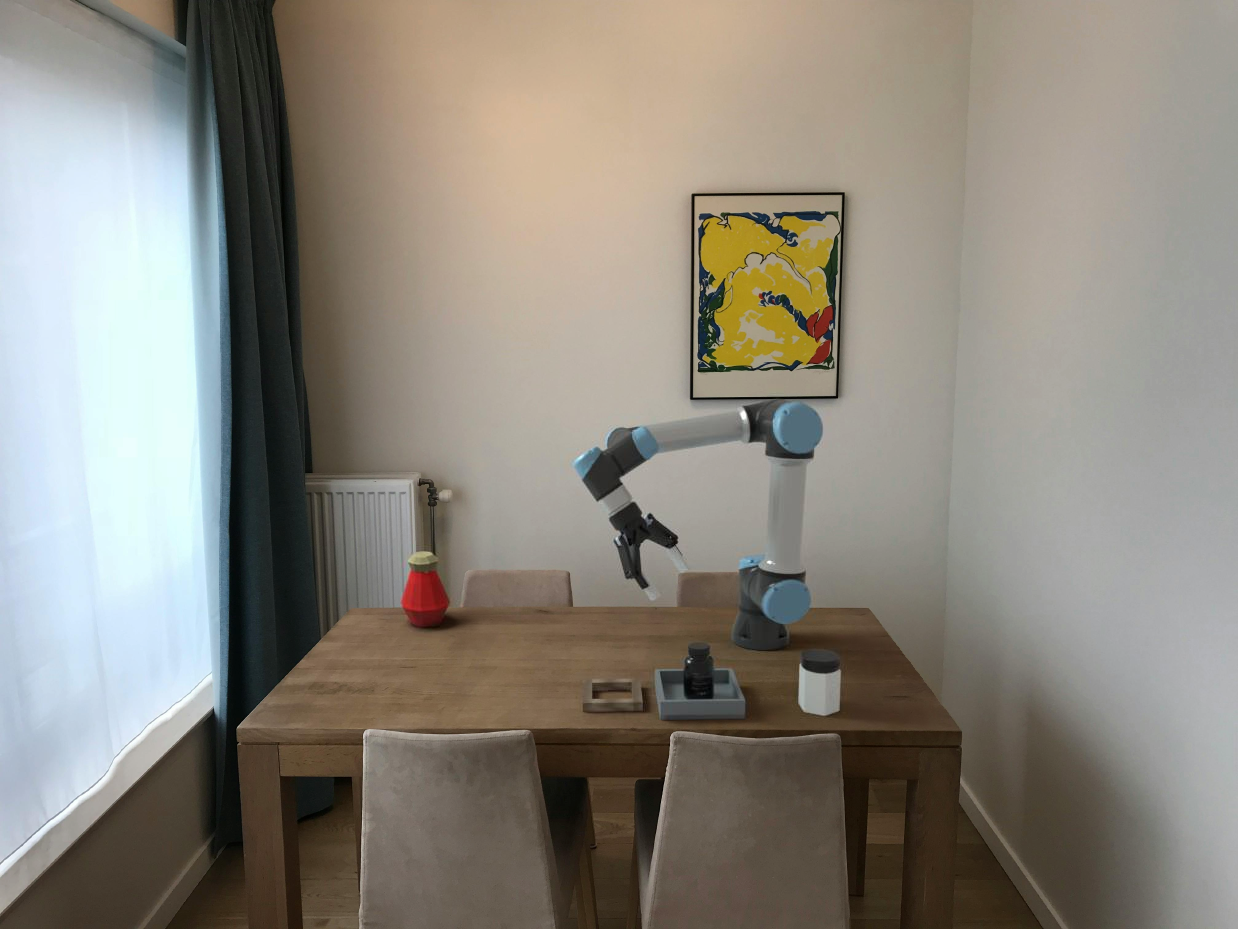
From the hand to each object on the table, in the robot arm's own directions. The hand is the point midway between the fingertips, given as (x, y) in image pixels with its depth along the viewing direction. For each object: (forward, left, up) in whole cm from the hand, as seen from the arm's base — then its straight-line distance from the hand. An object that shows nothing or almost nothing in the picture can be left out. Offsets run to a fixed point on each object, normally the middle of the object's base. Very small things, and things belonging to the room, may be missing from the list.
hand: (671, 584), depth 201 cm
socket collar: (+14, +11, -23) cm, 29 cm away
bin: (-5, +13, -23) cm, 27 cm away
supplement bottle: (-5, +13, -22) cm, 26 cm away
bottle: (+66, -43, -23) cm, 82 cm away
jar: (-31, +17, -23) cm, 42 cm away
